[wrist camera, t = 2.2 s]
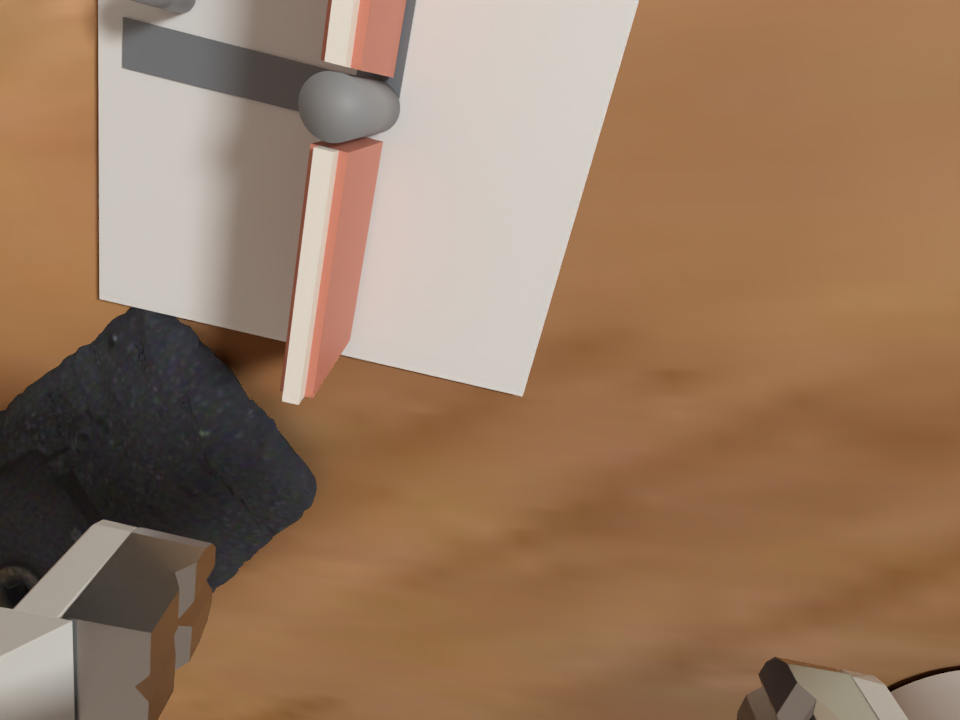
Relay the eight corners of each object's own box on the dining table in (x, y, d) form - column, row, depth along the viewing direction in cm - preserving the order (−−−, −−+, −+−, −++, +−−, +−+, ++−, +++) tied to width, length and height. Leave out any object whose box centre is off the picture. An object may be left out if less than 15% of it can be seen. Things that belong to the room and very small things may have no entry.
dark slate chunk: (371, 495, 33) (351, 554, 29) (106, 665, 39) (56, 737, 34) (157, 270, 29) (95, 300, 24) (-107, 499, 34) (-195, 557, 30)
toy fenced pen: (522, 392, 30) (524, 426, 27) (105, 295, 29) (55, 320, 26) (674, -128, 22) (703, -167, 19) (105, -289, 21) (32, -361, 18)
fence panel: (350, 340, 28) (306, 406, 22) (324, 334, 28) (273, 399, 22) (383, 141, 25) (343, 154, 19) (353, 133, 25) (303, 144, 19)
